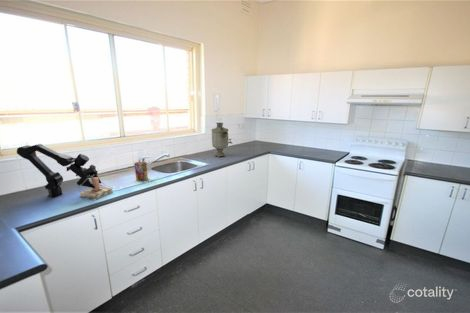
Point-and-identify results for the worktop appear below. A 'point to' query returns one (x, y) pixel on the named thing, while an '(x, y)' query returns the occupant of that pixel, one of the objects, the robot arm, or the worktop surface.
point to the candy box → (141, 170)
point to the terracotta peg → (95, 184)
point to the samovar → (220, 139)
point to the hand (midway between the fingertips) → (97, 185)
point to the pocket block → (95, 195)
